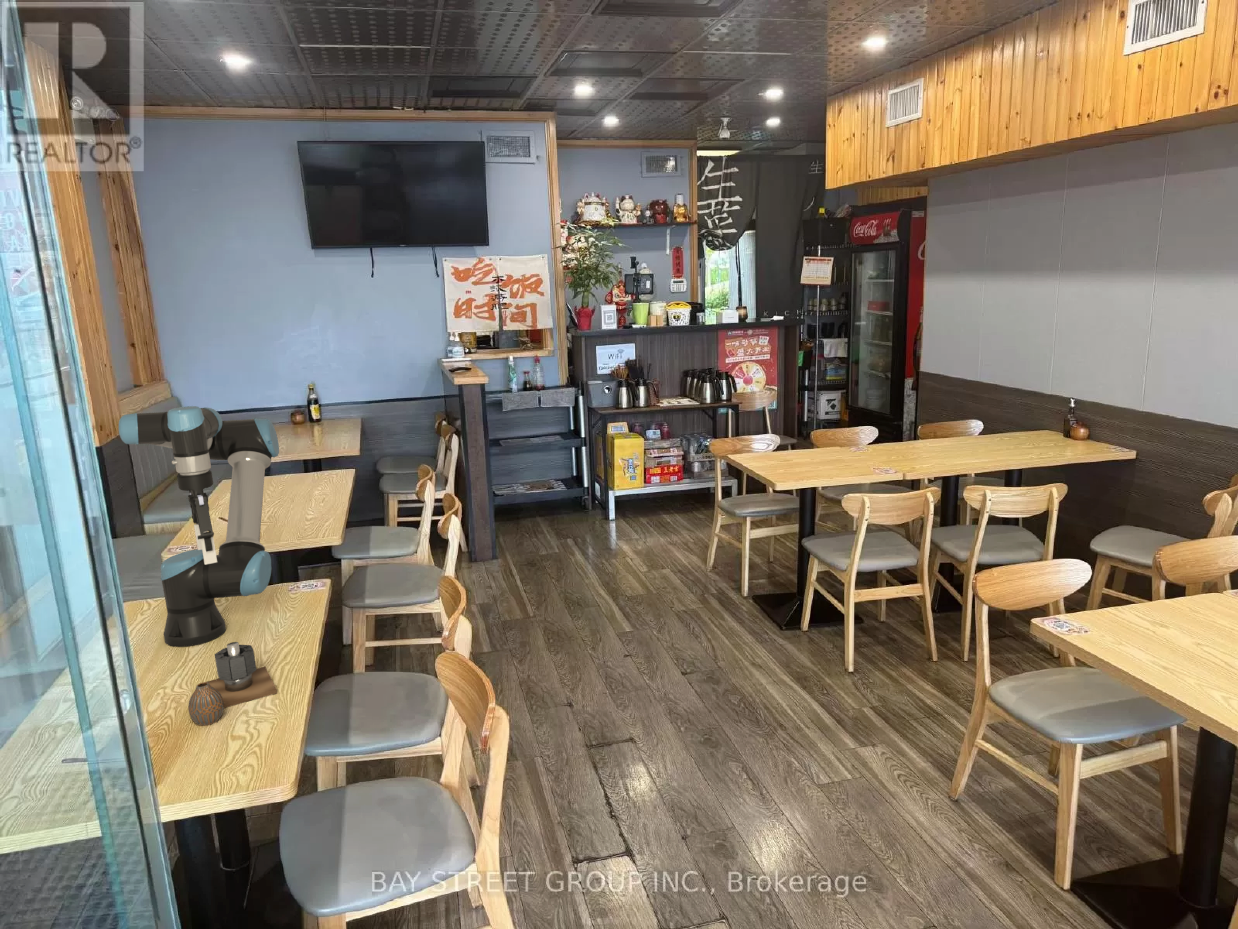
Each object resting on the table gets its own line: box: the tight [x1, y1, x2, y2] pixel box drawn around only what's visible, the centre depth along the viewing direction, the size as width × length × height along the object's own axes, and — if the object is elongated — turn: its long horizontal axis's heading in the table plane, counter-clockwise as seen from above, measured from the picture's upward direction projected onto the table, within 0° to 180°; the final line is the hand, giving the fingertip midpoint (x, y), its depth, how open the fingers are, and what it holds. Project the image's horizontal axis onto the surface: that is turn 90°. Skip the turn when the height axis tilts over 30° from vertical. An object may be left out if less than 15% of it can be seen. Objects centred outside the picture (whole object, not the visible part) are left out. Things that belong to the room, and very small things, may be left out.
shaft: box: [224, 641, 253, 692], centre depth 195 cm, size 6×6×10 cm
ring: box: [214, 644, 257, 681], centre depth 195 cm, size 8×8×5 cm
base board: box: [206, 666, 278, 709], centre depth 196 cm, size 14×14×1 cm
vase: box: [188, 681, 225, 726], centre depth 182 cm, size 7×7×9 cm
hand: (207, 555), depth 204 cm, fingers open, 13 cm apart
